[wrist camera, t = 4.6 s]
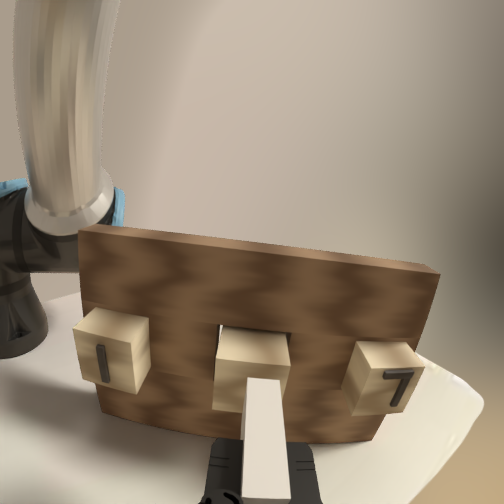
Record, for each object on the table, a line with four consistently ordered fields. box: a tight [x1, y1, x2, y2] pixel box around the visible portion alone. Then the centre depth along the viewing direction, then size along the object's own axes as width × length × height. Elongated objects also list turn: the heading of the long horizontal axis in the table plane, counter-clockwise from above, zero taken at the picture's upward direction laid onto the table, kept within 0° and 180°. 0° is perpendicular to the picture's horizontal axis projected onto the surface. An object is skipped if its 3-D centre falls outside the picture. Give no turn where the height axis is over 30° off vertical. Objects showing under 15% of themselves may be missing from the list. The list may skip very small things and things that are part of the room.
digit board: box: [73, 224, 440, 444], centre depth 25 cm, size 30×12×20 cm, turn 89°
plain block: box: [212, 325, 291, 413], centre depth 24 cm, size 5×9×5 cm, turn 179°
